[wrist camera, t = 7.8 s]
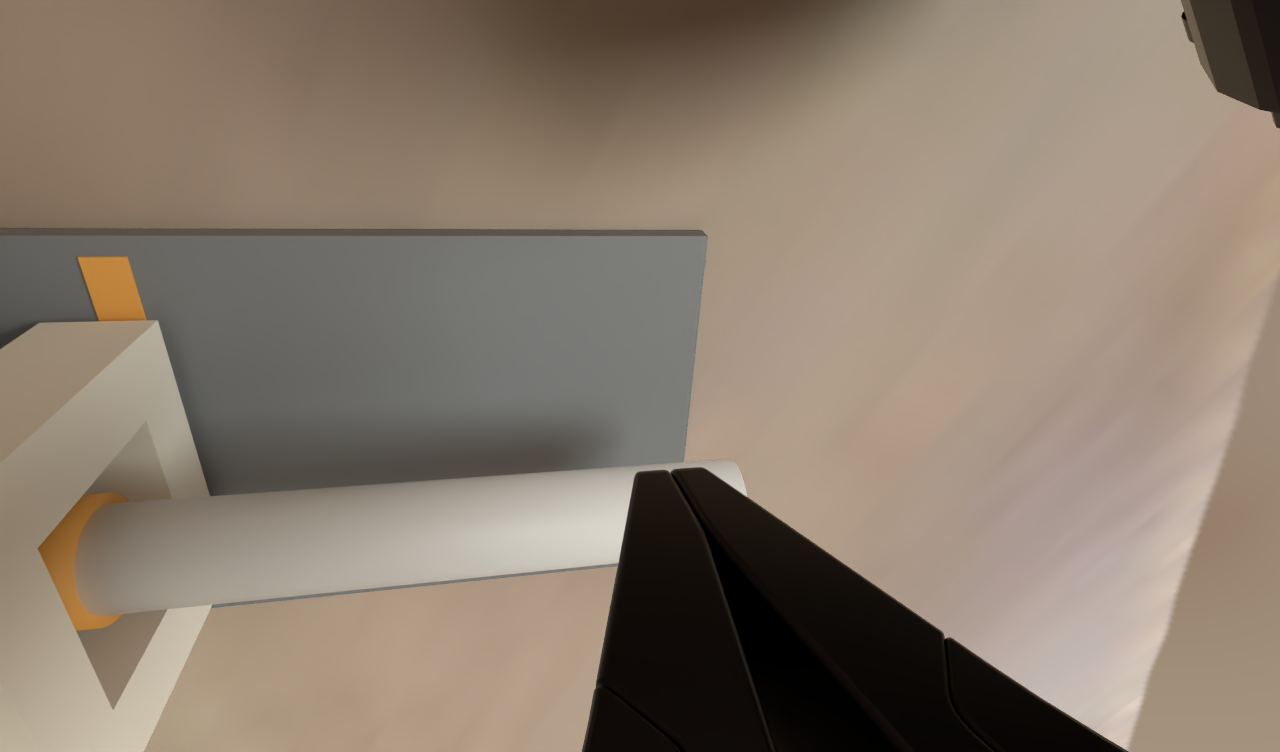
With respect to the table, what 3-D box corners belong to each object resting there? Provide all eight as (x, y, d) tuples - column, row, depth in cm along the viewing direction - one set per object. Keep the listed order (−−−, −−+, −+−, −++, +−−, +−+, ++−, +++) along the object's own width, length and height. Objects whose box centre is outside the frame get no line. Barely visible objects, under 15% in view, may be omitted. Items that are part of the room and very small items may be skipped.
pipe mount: (701, 230, 19) (824, 346, 12) (669, 548, 25) (741, 753, 18) (-371, 227, 14) (-1173, 420, 7) (-112, 626, 20) (-434, 951, 13)
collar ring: (157, 319, 16) (-82, 537, 9) (230, 565, 20) (97, 851, 13) (39, 322, 16) (-305, 555, 9) (136, 574, 20) (-55, 876, 13)
